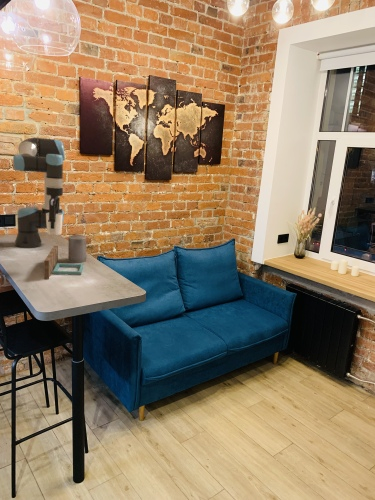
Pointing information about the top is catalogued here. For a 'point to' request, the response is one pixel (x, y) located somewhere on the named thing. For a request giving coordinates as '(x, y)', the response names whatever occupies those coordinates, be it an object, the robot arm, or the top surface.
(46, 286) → the top surface
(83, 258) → the pillar candle
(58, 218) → the white cup
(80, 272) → the keeper frame
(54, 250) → the brown wooden board
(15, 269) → the top surface
